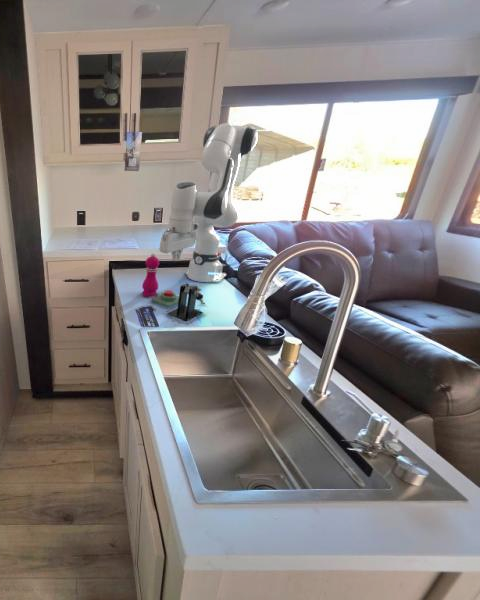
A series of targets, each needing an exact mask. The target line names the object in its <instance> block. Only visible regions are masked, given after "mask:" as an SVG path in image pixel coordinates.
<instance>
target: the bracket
mask: <svg viewBox="0 0 480 600" xmlns="http://www.w3.org/2000/svg"><path fill="white" fill-rule="evenodd" d="M186 286H187V287H189V286H190V284H189V283H183V284H182V285H180V286H179V293H178V296H179V301H178V304H177V308H176V309H174V310H172V311H169V312H167V313H166V314H167V315H169V316H171V317H173V318H175V319H178V320H181V321H183V322H185V323H187V322H189V321H191V320H193V319H195V318H197V317H199V316H200V315H202V314H204V312H203V311H200V310H198V309H196V303H197V299H196V296H197V290H198V287H197V286H198V285H197V286H195V287H193V288H190V289H189V294H187V293H185V292H184V289H185V287H186ZM198 291H199V290H198Z"/></svg>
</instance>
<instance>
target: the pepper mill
mask: <svg viewBox="0 0 480 600" xmlns="http://www.w3.org/2000/svg"><path fill="white" fill-rule="evenodd" d="M159 265H160V260H159V258H158V257H156V253H151V254H150V256H149V257H147V258H146V259H145V266H146V267H145V268H146V269H145V270H146V276H145V279H144V280H143V282H142V287H141V288H142V289H143V290H142V296H143V297H145V298H151V297H154V296H157V291H158V289H159V283H158V280H157V272H158V267H159Z"/></svg>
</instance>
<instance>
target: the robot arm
mask: <svg viewBox="0 0 480 600" xmlns="http://www.w3.org/2000/svg"><path fill="white" fill-rule="evenodd" d="M204 133H205V134H204V136H203V140H202V145H203V146H202V147H203V148H202V151H201V153H200V162H201V165H202V166H203V168H204V169H206V170H207V171H208V172H210V173H211V174H210V178H209V181H208V185H207V189H208V191H200V190H197V185H196V184H195V183H194V182H190V181H189V182H188V181H186V182H180V183H177V184H175V186H174V189H173V193H172V196H171V204H170V210H171V212H170V215H169V221H168V227H167V228H166V229H165V231H164V232H163V233H162V235H161V239H160V243H159V248H158V249H159V252H160V253H163V254H170V253H171V256H172V257H171V260H172V261H174V262H176V261H179V260H180V259H181V256H182V254H183V251H184V249H188V248H192V247H194V251H193V253H192V259H190V261H189V265H188V270H187V271H185V275H186V276H187V278H188V279H190V280H191V281H195V282H200V283H215V284H216V283H220V282H221V281H222V280H224V279H225V277H227V273H226V272H225V271H226V270H227V264H224V263H221V261H220V260H219V257H221V256H222V252H219V251H218V250H219V246H220V245H219V244H220V236H219V235H218V234H217V233H216V231H215V229H214V227H216V228H231V227H232V226H233V225H234V224H235V223H236V222H237V220H238V217H239V211H238V208H237V207H236V205H235V204H234V201H233V189H234V185H235V182H236V178H237V175H238V173H239V167H240V162H241V159H243V158H244V157H245V156H246V155H248V154H250V153H251V152H252V151H253V149H254V148H255V147H256V144H257V142H258V137H259V135H258V130H257V128H255V127H253V126H244V125H233V124H232V123H228V122H225V123H220V124H218V125H215V126H214V125H213V126H211V127H209V128H208V129H207V130H206V131H205V132H204Z"/></svg>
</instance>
